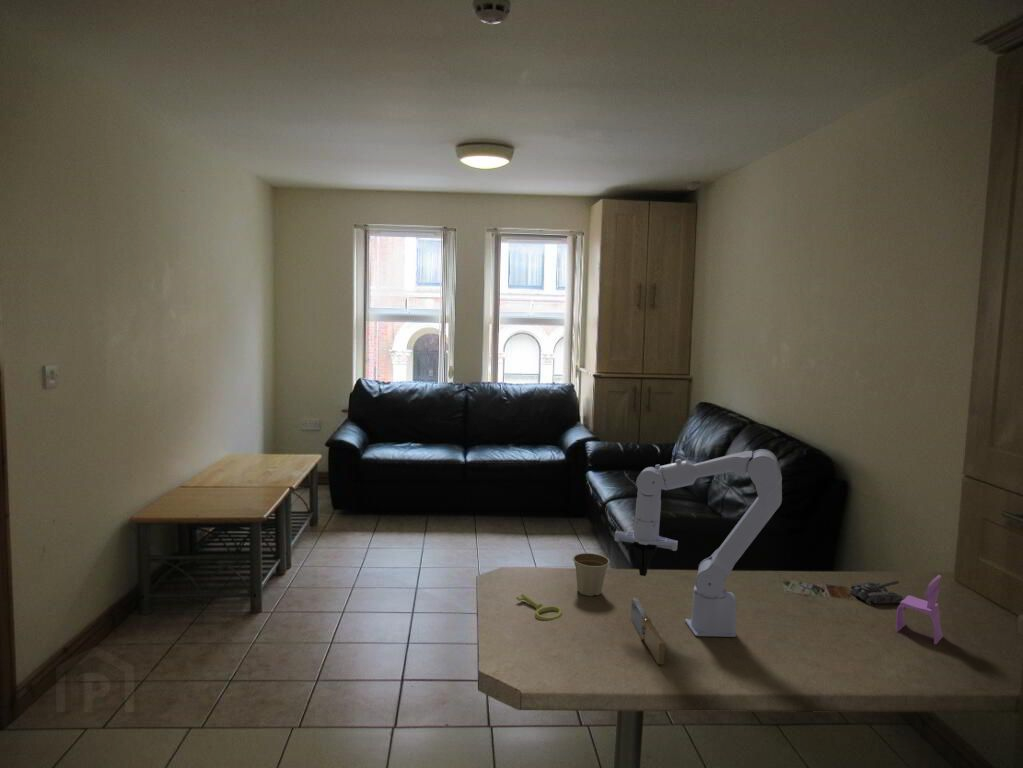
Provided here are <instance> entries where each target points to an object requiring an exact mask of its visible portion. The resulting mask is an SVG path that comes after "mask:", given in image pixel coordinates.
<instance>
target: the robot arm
mask: <svg viewBox="0 0 1023 768" xmlns="http://www.w3.org/2000/svg"><path fill="white" fill-rule="evenodd" d="M729 473H734V474H736V475H739V476H740V477H743V478H746V473H747V474H748V477H749V478H750V480H751V481H752V482H753V484H754V485H755V489H756V494H757V497H756V498H755V500H754V501H753V502H752V504H751V505H750V506H749V508H747V510H746V511H745V513H744V514H743V515H742V517H741V518H740V519H739V521H737V524H735V526H734V527H733V528H732V529H731V531H730V532H729V534H728V535H727V536H726V538H725V539H724V541H723V542H722V543H721V544H720V546H719V547H717V549H715V551H714V552H712V554H711V555H710V556H709V557H706V558H704V559H702V561H700V563H699V564H698V569H697V574H696V576H695V579H694V586H693V594H692V604H691V605H692V606H691V609H692V610H691V618H685V619H684V621H685V623H686V625H687V626H688V627H689V629H690V630H691V631H692V633H693V634H694V636H696V637H721V638H723V637H724V638H725V637H728V638H729V637H730V638H731V637H732V638H735V637H737V634H736V626H737V625H736V624H737V612H738V605H737V598H736V596H735V595H734V593H733V592H731V591H727V590H726V589H725V584H726V583H725V582H726V580H727V579H728V578H729V576H730V574H731V573H732V570H733V568H734V567H735V565H736V563H737V562H738V561H739V559H740V558H741V557H742V556H743V555H744V553H745V551H747V549H748V548H749V546H751V544H752V543H753V541H754V540H755V539H756V538H757V536H758V535H759V534H760V532H761V531H762V530H763V528H764V527H765V526H766V524H768V522H769V521H770V519H771V518H772V517H773V515H774V514H775V512H777V510H778V509H779V508H780V506H781V504H782V501H783V492H782V491H783V485H782V484H783V483H782V482H783V481H782V480H783V476H782V469H781V466H780V464H779V461H778V458H777V456H776V455H775V454H774V453H773V452H772V451H770V450H768V449H766V448H765V449H764V448H760V449H757V450H754V451H753V450H744V451H740V452H736V453H731V454H728V455H724V456H720V457H716V458H712V459H708V460H705V461H700V462H697V463H692V462H690V460H688V459H686V460H685V459H684V460H682V458H678V459H675V460H674V462H672V463H668V464H664V465H660V463H659V464H655V466H648V467H645V468H644V469H643V470H642V471H640V473H639V474H638V476H637V477H636V480H635V481H636V483H635V486H636V489H637V493H636V494H637V496H636V500H635V501H636V502H635V513H634V514H635V515H634V528H633V531H621V530H616V531H615V532H614V541H615V542H620V541H622V542H625V543H631V544H633V545H632V551H633V553H634V555H635V558H636V561H637V566H638V572H639V576H643V577H647V574H648V569H649V566H650V562H651V561H652V558H653V556H654V554H655V553H656V550H657V549H658V548H661V549H666V550H667V549H668V550H671V551H673V552H677V551H678V543H679V541H678V540H675V539H671V538H668V537H663V536H661V535H660V521H661V508H662V507H661V506H662V499H661V495H662V490H664V491H669V490H674V489H677V488H678V489H679V488H683V487H686V486H692V485H694V484H695V482H696V480H697V479H699V478H705V477H710V476H717V475H723V474H729Z"/></svg>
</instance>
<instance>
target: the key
mask: <svg viewBox="0 0 1023 768" xmlns="http://www.w3.org/2000/svg"><path fill="white" fill-rule="evenodd" d="M516 600H518V601H519V602H520V601H525V602H526V603H527V604H529V605H531V606H532V607H533V608H535V613H534V617H535V618H536V619H537V620H539V621H540V620H541V621H551V620H556V619H558V618H560V617H561V616H562V615H563V610H562V609H561V607H559V606H555V605H546V606H544V605H543V604H542V603H538V602H537V601H535V600H533V599H532V598H530V597H529V596H528V595H526V594H525V593H522V594H521V595H518V596H516ZM551 611H554V612H557V613H556V614H554V615H551V616H546V615H545V616H544V615H541V614H542V613H545V612H551Z"/></svg>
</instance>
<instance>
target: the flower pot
mask: <svg viewBox="0 0 1023 768" xmlns="http://www.w3.org/2000/svg"><path fill="white" fill-rule="evenodd" d="M572 561H573V562H574V566H575V573H576V574H575V575H576V587H577V590H576V591H577V592H578V593H580V594H581V595H584V596H586V597H593V596H600V595H601V594H602V592H603V591H602V590H603V586H604V581H605V576H606V571H607V569H608V566H609V565H610V563H611V561H610V559H609V558H608V557H606V556H604V555H601V554H598V553H591V552H590V553H589V552H585V553H578V554H575V555H574V556H573V557H572Z"/></svg>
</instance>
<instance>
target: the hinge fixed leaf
mask: <svg viewBox="0 0 1023 768" xmlns="http://www.w3.org/2000/svg"><path fill="white" fill-rule="evenodd" d="M630 607H631V608H630V609H631V610H630V618H631V621H632V623H633V624H634V626H635V629H636V630H637V632H638V634H639V636H640V637H641V632H642V633H645V628H642V618H644V617H647V618H649V617H648V615H647V613H646V611H645V609H644V607H643V606H642V604H641V602H640V600H639V599H638V598H637V597H632V598H631V606H630Z"/></svg>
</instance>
